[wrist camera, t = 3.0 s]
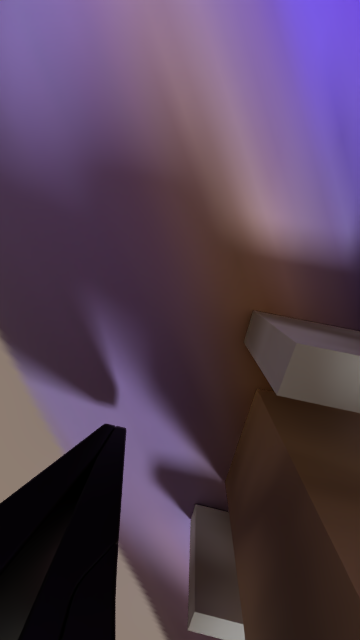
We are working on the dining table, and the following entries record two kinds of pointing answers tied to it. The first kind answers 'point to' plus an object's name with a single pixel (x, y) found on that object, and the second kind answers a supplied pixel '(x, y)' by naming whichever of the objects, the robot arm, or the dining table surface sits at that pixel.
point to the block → (297, 520)
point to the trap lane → (287, 381)
